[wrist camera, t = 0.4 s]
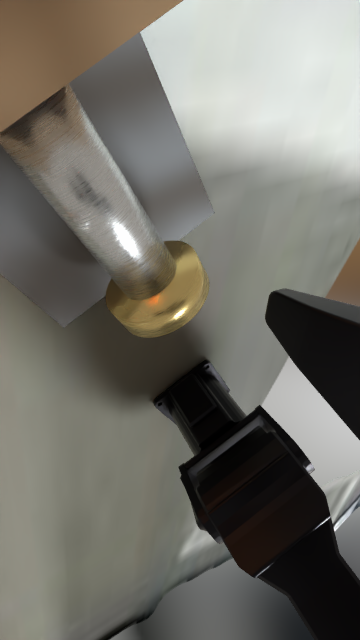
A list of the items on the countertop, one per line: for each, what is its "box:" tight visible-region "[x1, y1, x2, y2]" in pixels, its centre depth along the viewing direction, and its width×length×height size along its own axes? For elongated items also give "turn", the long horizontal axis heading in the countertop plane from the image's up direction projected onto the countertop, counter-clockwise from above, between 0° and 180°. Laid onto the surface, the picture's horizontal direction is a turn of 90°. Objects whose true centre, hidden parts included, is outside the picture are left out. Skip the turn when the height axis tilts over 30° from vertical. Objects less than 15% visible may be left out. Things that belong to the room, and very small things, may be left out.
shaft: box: [0, 83, 209, 338], centre depth 13 cm, size 12×5×5 cm, turn 28°
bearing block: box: [0, 0, 215, 327], centre depth 12 cm, size 18×12×8 cm, turn 28°
